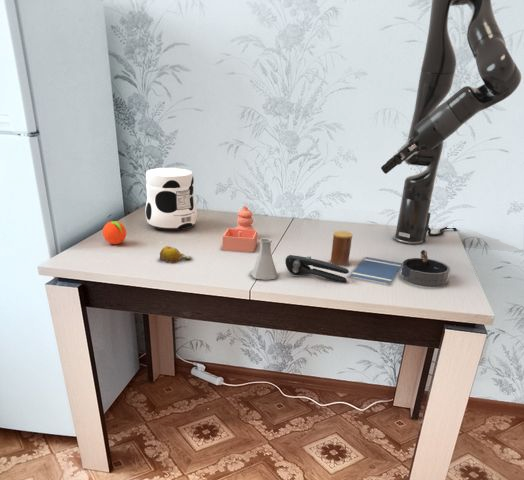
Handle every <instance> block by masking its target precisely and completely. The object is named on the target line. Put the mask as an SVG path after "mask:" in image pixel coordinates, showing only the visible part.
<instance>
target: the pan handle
mask: <svg viewBox="0 0 524 480" xmlns="http://www.w3.org/2000/svg"><path fill="white" fill-rule="evenodd" d="M428 257H429V256H428V251H427V250H426V249H422V250H421V251H420V258H424V259H423V260H422V264H423V265H427V264H428V260H427V259H429V258H428Z"/></svg>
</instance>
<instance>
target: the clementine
mask: <svg viewBox="0 0 524 480" xmlns="http://www.w3.org/2000/svg"><path fill="white" fill-rule="evenodd" d="M102 235H103V236H102V237H103V238H104V240H105V241H106V242H108V244H111V245H119V244H122V243H123V242H124V241H125V239H126V237H127V229H126V228H125V225H124V224H123V223H121V222H119V221H117V220H111V221H108V222H107V223H106V224H105V225H104V226H103V228H102Z"/></svg>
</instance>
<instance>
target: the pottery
mask: <svg viewBox="0 0 524 480" xmlns="http://www.w3.org/2000/svg"><path fill="white" fill-rule="evenodd" d="M237 215H238V216H237V218H236V222H237V226H236V227H235V228H234V227H233V228H231V227H227V229H226V231H225V232H224V233H223V235H222V251H232V252H245V253H254V251H255V249H256V247H257V245H258V230H257V229H255V228H254V226H253V225H252V224H253V223H254V218H253V215H254V213H253V211H252V210H250V209H249V207H248V205H247V206H246V205H245V206H242V209H239V210H238V212H237Z"/></svg>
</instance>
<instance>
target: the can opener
mask: <svg viewBox="0 0 524 480" xmlns="http://www.w3.org/2000/svg"><path fill="white" fill-rule="evenodd" d="M310 266H311V267H313V268H311V267H310ZM285 267H286V269H287V271H288V272H289V273H290V274H291V275H292V276H296V277H298V276H304V275H312V276H317V277H320V278H322V279H325V280H328V281H332V282H337V283H346V282H347V281H348V280H347V278H346V277H345V276H341V275H339V274H336V273H340V274H344V275H347V274H349V273H350V270H349V269H348V268H346V267H344V266H337V265H334V264H332V263H331V262H327V261H324V260H320V259H317V258H312V256H309V255H308V256H301V255H293V254H289V255H287V256H286V257H285ZM321 269H322V270H321ZM324 270H325V271H324ZM326 270H328V271H326ZM329 271H331V272H329ZM333 272H336V273H333Z"/></svg>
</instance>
